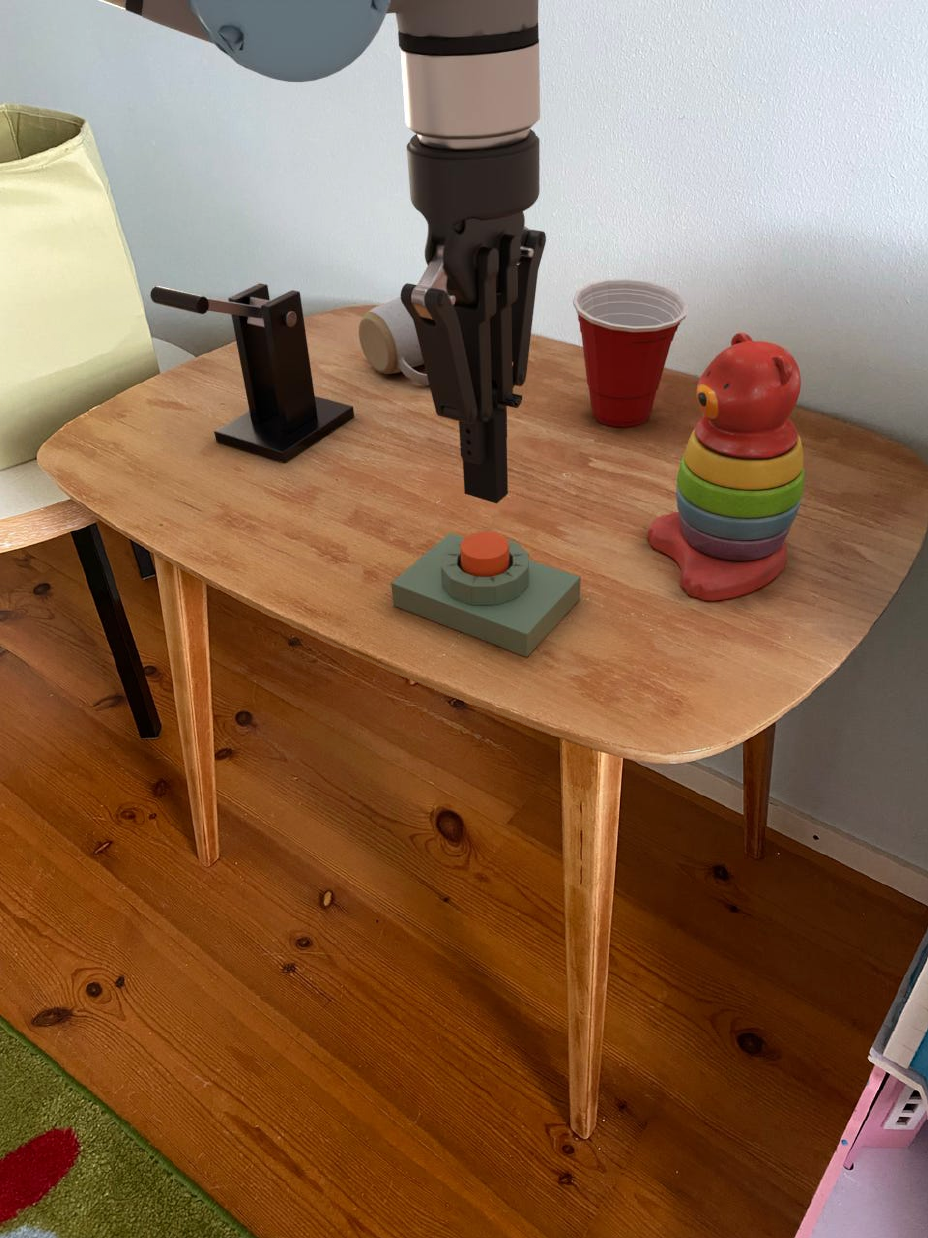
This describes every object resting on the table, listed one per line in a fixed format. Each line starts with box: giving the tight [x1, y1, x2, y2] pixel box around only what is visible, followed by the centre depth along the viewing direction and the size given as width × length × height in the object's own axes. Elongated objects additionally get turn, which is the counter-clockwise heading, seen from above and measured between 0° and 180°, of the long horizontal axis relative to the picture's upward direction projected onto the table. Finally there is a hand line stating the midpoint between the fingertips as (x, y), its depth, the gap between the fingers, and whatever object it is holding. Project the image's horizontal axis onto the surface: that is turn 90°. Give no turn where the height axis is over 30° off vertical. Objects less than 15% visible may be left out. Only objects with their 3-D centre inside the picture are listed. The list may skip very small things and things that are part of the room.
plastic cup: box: [572, 278, 690, 428], centre depth 96 cm, size 11×11×12 cm
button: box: [460, 531, 509, 577], centre depth 73 cm, size 4×4×2 cm
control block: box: [390, 532, 582, 658], centre depth 75 cm, size 12×8×4 cm, turn 56°
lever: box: [150, 285, 272, 327], centre depth 88 cm, size 13×6×2 cm, turn 147°
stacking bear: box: [646, 332, 805, 601], centre depth 74 cm, size 11×10×18 cm
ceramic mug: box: [358, 296, 430, 386], centre depth 107 cm, size 11×8×8 cm
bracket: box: [213, 282, 355, 464], centre depth 95 cm, size 11×9×14 cm
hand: (486, 493), depth 70 cm, fingers closed
